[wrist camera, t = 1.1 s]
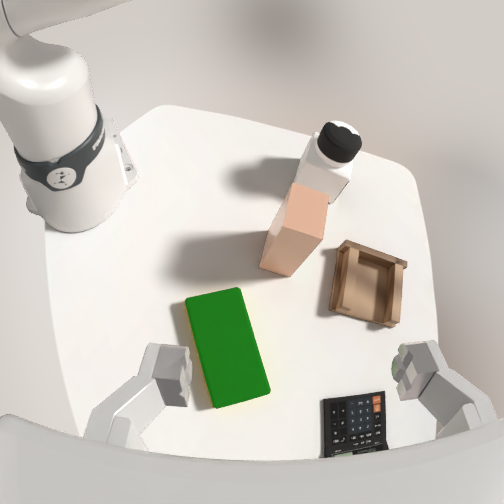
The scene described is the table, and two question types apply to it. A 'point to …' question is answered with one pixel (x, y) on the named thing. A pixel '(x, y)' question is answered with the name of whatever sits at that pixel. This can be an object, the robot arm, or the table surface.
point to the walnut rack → (367, 284)
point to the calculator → (355, 425)
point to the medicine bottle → (329, 159)
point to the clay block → (295, 230)
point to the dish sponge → (226, 347)
